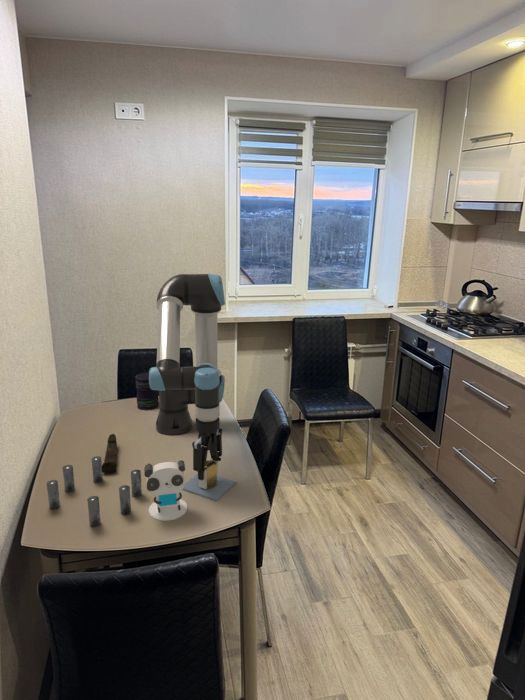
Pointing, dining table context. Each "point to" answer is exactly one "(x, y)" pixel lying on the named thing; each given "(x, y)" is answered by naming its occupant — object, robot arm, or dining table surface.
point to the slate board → (210, 493)
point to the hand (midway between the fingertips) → (208, 482)
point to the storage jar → (145, 393)
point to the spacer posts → (94, 500)
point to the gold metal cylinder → (211, 473)
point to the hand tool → (110, 456)
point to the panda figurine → (166, 489)
